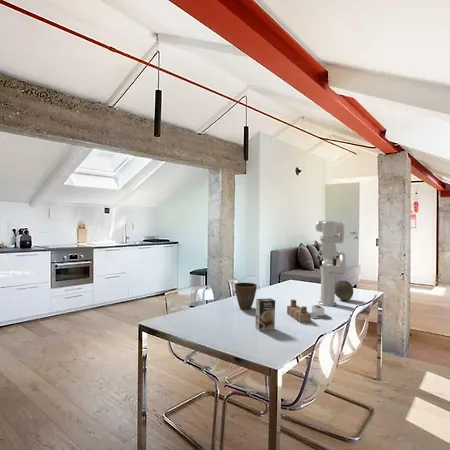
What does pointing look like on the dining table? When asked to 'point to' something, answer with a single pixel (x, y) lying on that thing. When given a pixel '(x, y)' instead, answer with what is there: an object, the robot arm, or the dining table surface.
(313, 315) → the rubber mat
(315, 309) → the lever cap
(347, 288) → the cantaloupe
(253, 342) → the dining table surface
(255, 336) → the dining table surface
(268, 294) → the dining table surface
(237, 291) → the plant pot
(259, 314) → the coffee box
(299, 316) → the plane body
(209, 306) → the dining table surface
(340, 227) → the robot arm
